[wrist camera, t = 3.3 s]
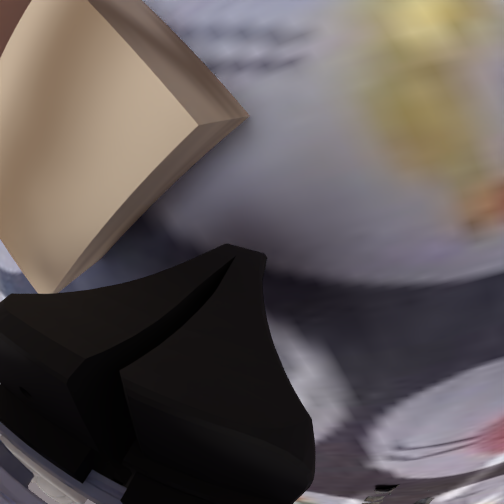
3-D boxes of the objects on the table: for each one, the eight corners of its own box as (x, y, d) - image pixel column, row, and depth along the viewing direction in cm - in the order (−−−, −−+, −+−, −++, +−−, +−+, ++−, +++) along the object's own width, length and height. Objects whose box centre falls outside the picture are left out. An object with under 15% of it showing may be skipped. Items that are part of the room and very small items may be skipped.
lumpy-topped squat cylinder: (19, 396, 29) (-17, 438, 22) (90, 438, 26) (51, 495, 19) (52, 440, 34) (24, 478, 26) (120, 477, 31) (92, 525, 23)
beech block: (252, 115, 9) (198, 125, 6) (104, 255, 13) (45, 303, 10) (132, -11, 8) (54, -34, 4) (27, 146, 12) (-38, 170, 9)
